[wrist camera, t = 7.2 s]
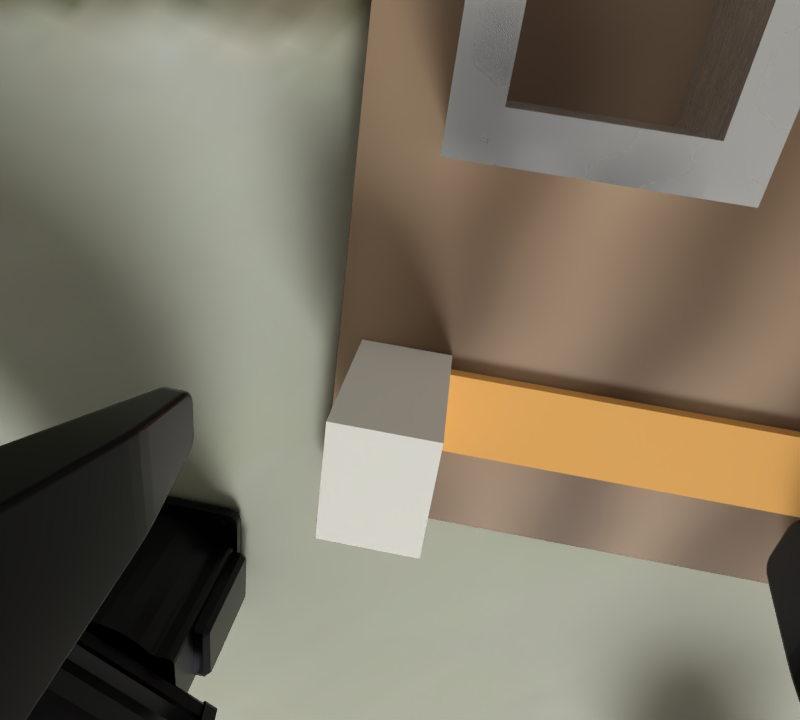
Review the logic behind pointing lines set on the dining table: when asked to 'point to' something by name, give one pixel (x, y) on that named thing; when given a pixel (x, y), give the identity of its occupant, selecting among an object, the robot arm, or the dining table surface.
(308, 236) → the dining table surface
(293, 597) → the dining table surface
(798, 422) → the board
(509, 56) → the silver square frame
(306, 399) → the dining table surface
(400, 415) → the bolt
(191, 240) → the dining table surface
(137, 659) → the robot arm
